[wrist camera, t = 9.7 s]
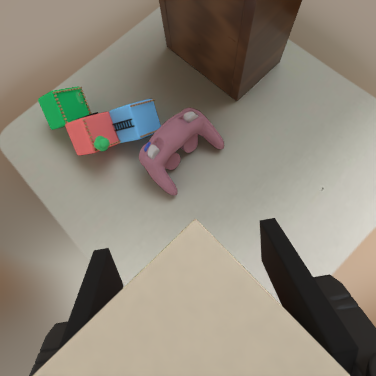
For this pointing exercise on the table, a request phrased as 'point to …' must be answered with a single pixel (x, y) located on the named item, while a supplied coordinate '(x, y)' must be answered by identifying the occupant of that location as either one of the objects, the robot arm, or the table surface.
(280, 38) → the shelf
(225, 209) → the table surface
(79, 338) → the cream and orange block
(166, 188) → the video game controller
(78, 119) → the building blocks
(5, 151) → the table surface
